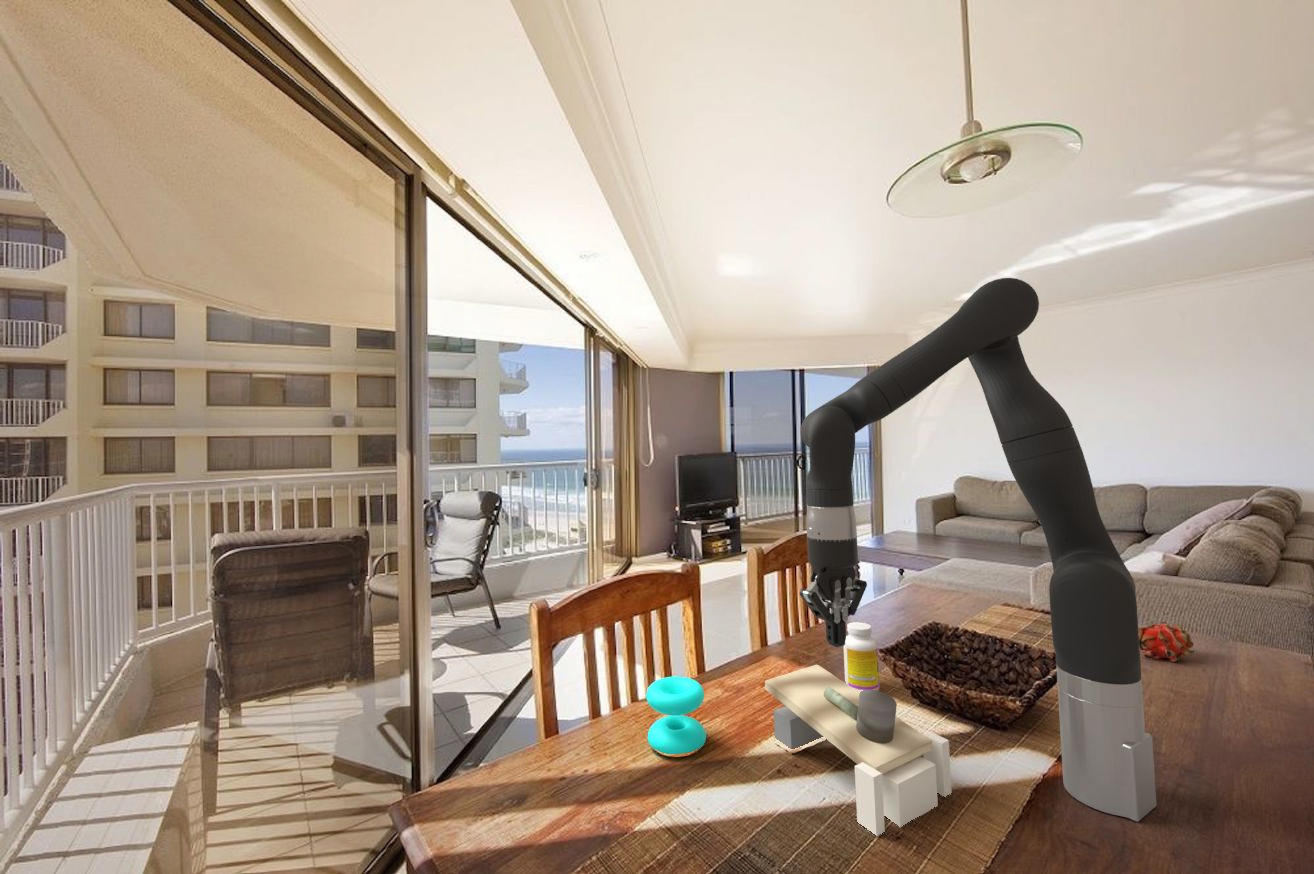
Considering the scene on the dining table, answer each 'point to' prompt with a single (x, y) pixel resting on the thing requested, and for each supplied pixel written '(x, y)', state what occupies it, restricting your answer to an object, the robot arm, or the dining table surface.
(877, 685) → the supplement bottle
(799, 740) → the level stand
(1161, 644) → the dragon fruit
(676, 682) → the donuts
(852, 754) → the board
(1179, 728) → the dining table surface
